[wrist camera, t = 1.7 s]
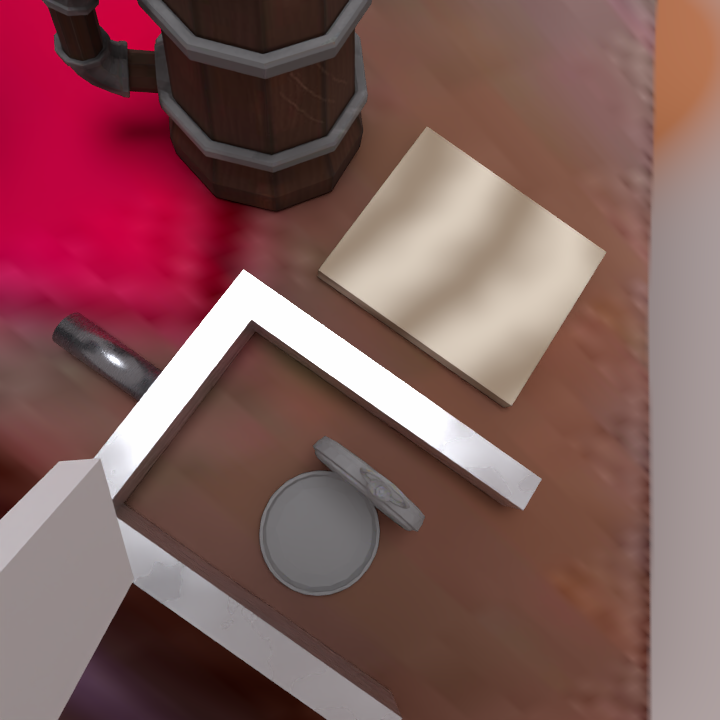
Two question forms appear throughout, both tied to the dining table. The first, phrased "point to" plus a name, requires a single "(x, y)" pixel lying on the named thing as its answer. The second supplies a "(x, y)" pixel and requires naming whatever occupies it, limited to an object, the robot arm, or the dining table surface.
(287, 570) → the pocket watch
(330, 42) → the mug
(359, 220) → the ash board
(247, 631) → the u-shaped metal frame
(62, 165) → the dining table surface
